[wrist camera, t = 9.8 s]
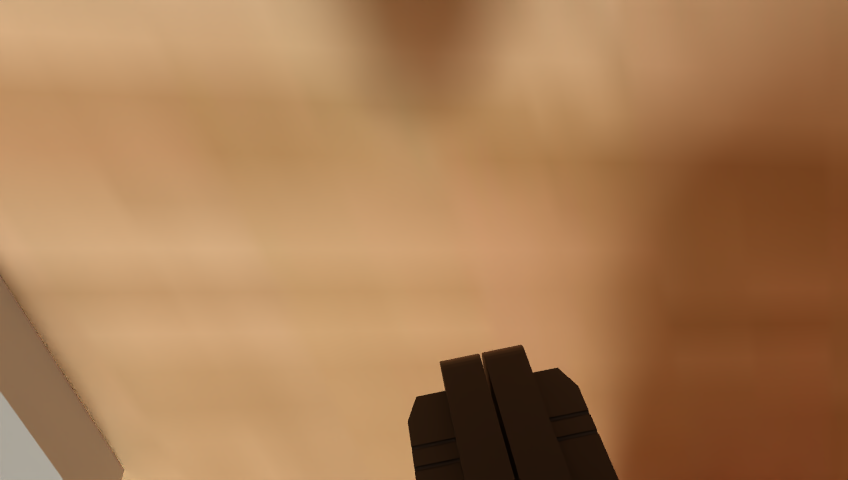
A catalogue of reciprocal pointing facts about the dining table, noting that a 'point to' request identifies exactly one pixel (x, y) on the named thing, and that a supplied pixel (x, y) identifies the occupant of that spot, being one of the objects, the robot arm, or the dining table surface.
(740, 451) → the dining table surface
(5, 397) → the tile
